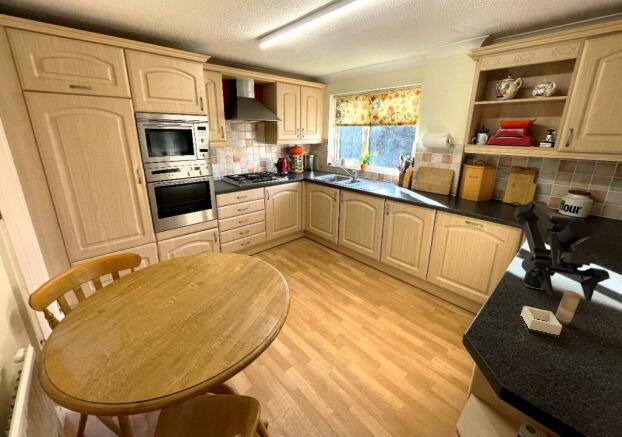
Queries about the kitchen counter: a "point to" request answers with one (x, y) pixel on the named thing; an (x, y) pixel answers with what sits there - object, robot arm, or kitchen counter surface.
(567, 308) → the wick dowel
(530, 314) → the cream square tray
